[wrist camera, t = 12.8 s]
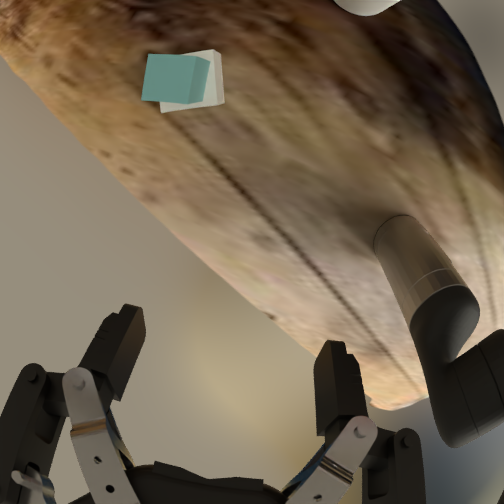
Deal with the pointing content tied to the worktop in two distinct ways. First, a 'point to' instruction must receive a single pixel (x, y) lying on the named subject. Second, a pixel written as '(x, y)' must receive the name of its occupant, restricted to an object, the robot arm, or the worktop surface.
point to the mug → (365, 6)
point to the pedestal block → (213, 84)
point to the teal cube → (175, 78)
